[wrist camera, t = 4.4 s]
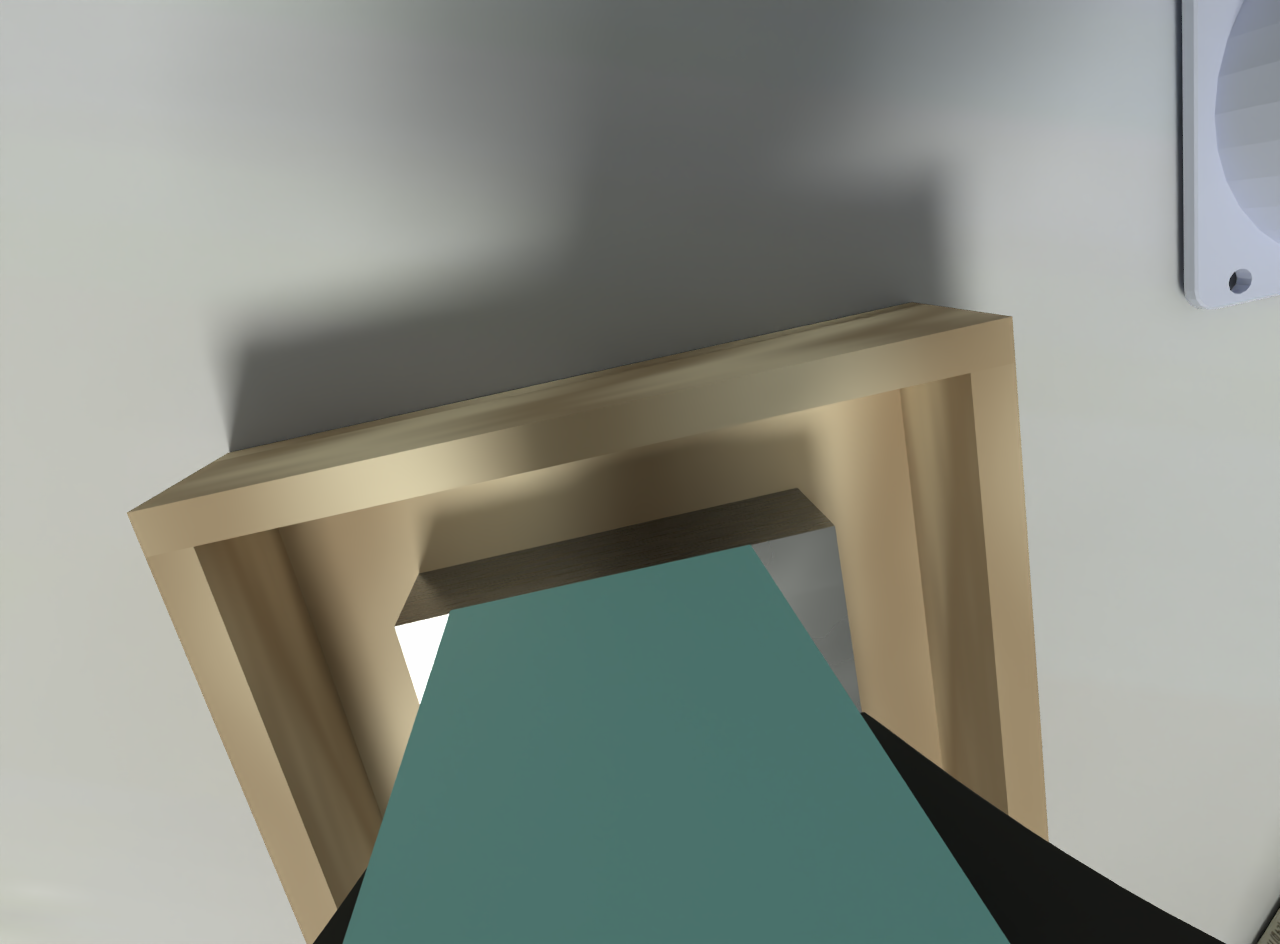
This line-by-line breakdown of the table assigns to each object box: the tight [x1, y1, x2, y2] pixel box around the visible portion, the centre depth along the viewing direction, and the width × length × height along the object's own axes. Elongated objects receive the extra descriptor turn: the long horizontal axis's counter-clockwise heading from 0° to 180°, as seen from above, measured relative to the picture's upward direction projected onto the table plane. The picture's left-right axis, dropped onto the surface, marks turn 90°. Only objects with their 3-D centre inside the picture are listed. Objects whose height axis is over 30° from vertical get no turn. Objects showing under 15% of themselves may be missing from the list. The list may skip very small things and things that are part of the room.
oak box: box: [127, 302, 1049, 944], centre depth 17 cm, size 15×15×4 cm
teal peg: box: [343, 545, 1010, 944], centre depth 7 cm, size 4×4×7 cm
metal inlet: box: [394, 488, 862, 713], centre depth 17 cm, size 8×8×2 cm
